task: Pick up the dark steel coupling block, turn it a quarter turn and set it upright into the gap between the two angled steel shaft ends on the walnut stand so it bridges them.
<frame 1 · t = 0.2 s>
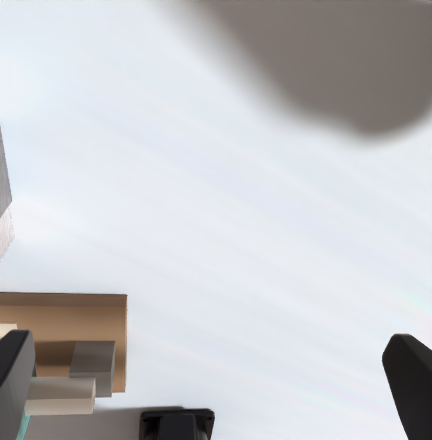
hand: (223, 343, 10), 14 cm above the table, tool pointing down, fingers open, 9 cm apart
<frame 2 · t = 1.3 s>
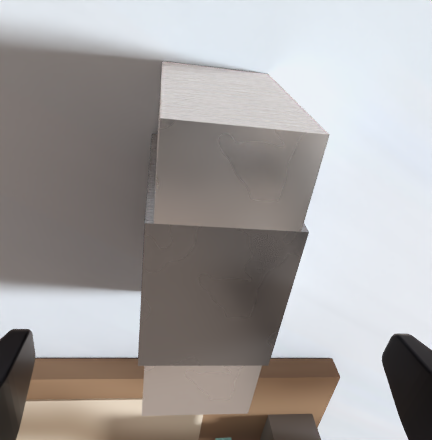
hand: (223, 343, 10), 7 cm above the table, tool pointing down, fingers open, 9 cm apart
shaft coupling stand: (92, 412, 22), on the table
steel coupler: (199, 198, 16), on the table
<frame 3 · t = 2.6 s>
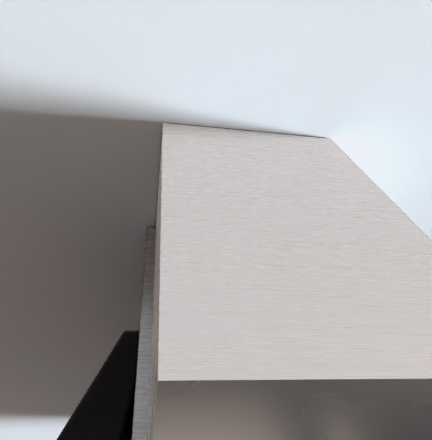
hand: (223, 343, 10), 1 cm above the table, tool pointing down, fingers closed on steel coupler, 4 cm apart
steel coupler: (217, 307, 11), on the table, touching gripper
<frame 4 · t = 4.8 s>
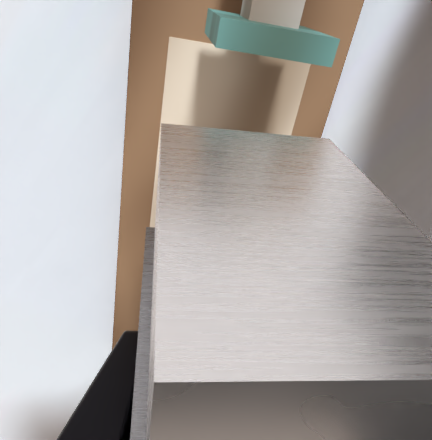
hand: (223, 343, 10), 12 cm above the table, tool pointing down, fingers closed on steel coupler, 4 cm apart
shaft coupling stand: (214, 170, 20), on the table
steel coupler: (216, 307, 11), point 11 cm above the table, touching gripper
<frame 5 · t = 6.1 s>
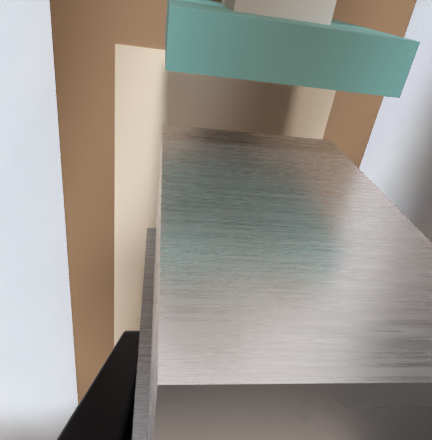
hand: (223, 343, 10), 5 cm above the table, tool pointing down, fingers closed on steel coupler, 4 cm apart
shaft coupling stand: (202, 226, 14), on the table
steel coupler: (217, 308, 11), point 4 cm above the table, touching gripper
when the fingers open (4 cm above the table, at t = 7.1 s): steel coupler drops 1 cm, resting on shaft coupling stand.
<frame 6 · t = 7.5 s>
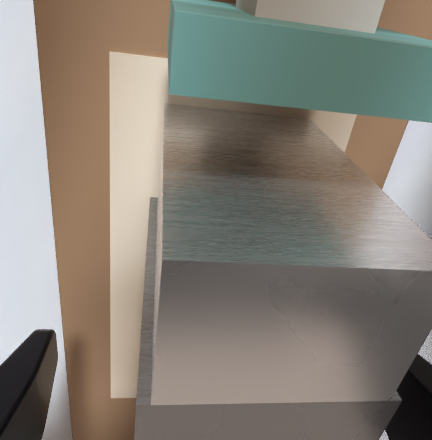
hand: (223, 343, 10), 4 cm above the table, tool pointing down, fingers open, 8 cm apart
shaft coupling stand: (207, 249, 13), on the table
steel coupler: (212, 273, 12), point 1 cm above the table, touching shaft coupling stand
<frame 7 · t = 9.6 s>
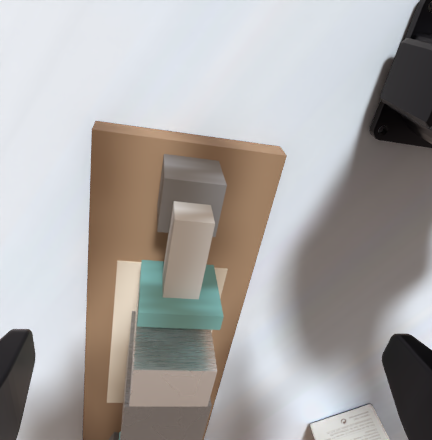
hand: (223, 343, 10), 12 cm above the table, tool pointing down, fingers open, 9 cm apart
shaft coupling stand: (161, 326, 26), on the table
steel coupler: (161, 342, 25), point 1 cm above the table, touching shaft coupling stand
small box: (346, 432, 36), on the table
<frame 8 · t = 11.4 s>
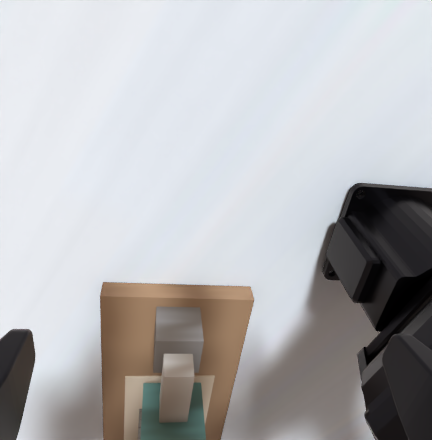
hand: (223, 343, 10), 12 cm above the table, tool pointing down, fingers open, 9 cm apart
shaft coupling stand: (164, 412, 31), on the table
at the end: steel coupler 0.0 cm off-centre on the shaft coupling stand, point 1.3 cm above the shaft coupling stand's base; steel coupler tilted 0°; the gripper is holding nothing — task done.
